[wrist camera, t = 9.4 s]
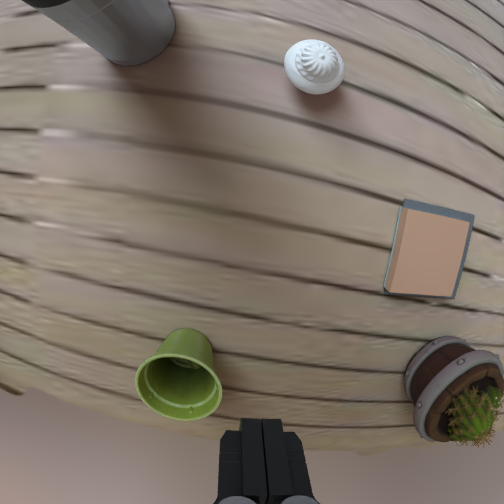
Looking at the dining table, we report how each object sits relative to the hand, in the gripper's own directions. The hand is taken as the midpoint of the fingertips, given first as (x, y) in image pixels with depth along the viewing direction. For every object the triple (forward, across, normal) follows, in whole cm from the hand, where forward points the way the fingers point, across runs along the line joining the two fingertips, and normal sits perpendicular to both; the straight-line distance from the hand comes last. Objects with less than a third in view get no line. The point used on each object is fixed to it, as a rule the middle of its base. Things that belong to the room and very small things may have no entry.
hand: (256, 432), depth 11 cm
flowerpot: (+26, -30, +15) cm, 43 cm away
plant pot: (+26, +6, +13) cm, 30 cm away
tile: (+25, -18, -2) cm, 30 cm away
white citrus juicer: (+26, -5, -20) cm, 34 cm away
